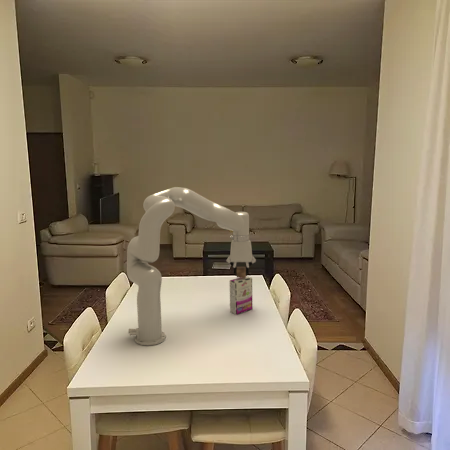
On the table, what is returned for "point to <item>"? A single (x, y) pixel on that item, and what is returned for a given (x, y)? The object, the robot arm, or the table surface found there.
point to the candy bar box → (240, 295)
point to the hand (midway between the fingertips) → (241, 274)
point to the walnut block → (241, 271)
